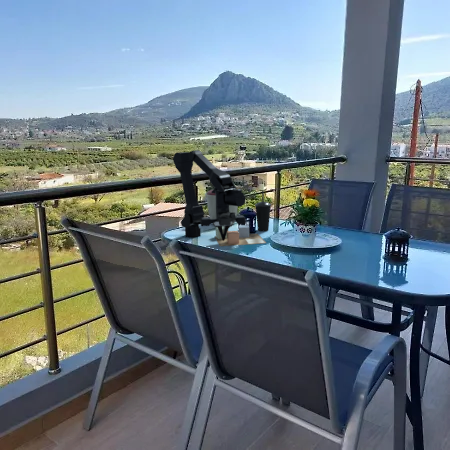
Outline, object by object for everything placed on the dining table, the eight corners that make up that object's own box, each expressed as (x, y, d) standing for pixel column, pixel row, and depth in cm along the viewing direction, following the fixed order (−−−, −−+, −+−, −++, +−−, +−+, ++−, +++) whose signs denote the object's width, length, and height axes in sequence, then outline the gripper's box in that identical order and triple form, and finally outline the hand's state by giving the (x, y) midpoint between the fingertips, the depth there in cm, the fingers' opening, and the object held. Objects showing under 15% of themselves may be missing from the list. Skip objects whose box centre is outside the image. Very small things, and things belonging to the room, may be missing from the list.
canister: (243, 226, 207) (242, 185, 202) (207, 228, 205) (206, 187, 200) (237, 219, 225) (236, 181, 220) (204, 221, 222) (203, 183, 218)
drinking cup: (272, 234, 190) (271, 191, 185) (255, 234, 190) (255, 192, 186) (270, 230, 197) (270, 189, 193) (254, 230, 197) (254, 190, 193)
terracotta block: (228, 244, 171) (228, 233, 170) (227, 241, 175) (226, 231, 174) (239, 243, 171) (239, 233, 170) (237, 240, 176) (237, 230, 175)
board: (219, 248, 168) (219, 246, 168) (214, 238, 185) (214, 236, 184) (266, 245, 171) (266, 243, 171) (257, 236, 187) (257, 233, 187)
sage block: (218, 239, 179) (218, 229, 178) (215, 236, 183) (215, 227, 182) (228, 238, 180) (228, 228, 179) (225, 235, 185) (225, 226, 184)
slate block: (239, 237, 181) (239, 227, 180) (238, 235, 185) (238, 225, 184) (249, 237, 181) (249, 227, 180) (248, 234, 185) (248, 225, 184)
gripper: (201, 208, 160) (202, 246, 163) (248, 206, 162) (248, 244, 166) (199, 204, 171) (200, 240, 174) (243, 202, 173) (243, 237, 176)
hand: (223, 240), depth 172 cm, fingers closed
